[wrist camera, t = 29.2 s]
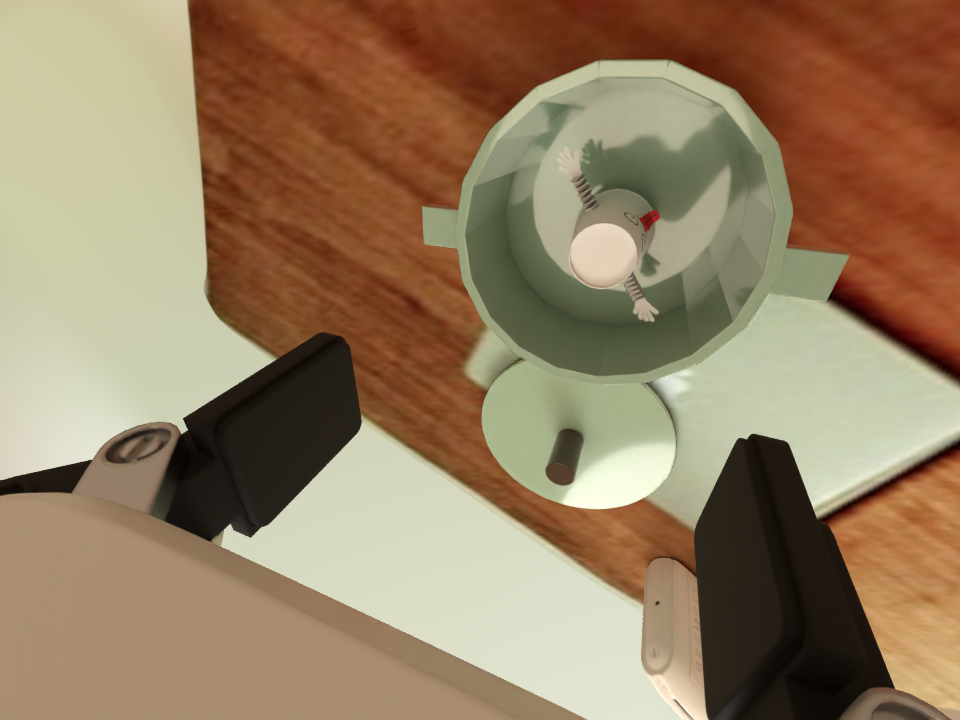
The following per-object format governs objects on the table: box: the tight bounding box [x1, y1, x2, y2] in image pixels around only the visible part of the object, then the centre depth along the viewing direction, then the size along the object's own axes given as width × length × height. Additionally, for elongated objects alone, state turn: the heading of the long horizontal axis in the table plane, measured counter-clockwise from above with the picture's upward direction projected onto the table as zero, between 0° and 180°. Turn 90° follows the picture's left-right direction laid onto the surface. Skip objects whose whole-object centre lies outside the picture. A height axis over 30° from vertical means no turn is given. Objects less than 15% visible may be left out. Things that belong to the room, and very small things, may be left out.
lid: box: [482, 359, 676, 509], centre depth 37 cm, size 18×18×6 cm
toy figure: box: [557, 147, 660, 322], centre depth 25 cm, size 12×6×8 cm, turn 35°
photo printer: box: [641, 558, 709, 720], centre depth 39 cm, size 10×4×12 cm, turn 51°
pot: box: [422, 59, 849, 385], centre depth 26 cm, size 17×23×8 cm
